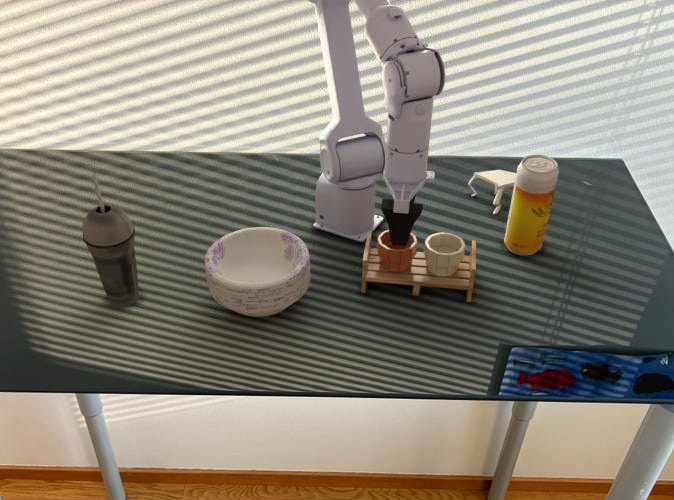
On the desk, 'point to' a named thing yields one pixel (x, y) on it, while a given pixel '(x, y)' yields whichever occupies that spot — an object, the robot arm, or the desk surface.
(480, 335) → the desk surface
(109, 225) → the beverage cup
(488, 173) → the white miniature table
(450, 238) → the cream bowl
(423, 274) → the bowl rack
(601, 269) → the desk surface
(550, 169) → the beer can
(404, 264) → the terracotta bowl
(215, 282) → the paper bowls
